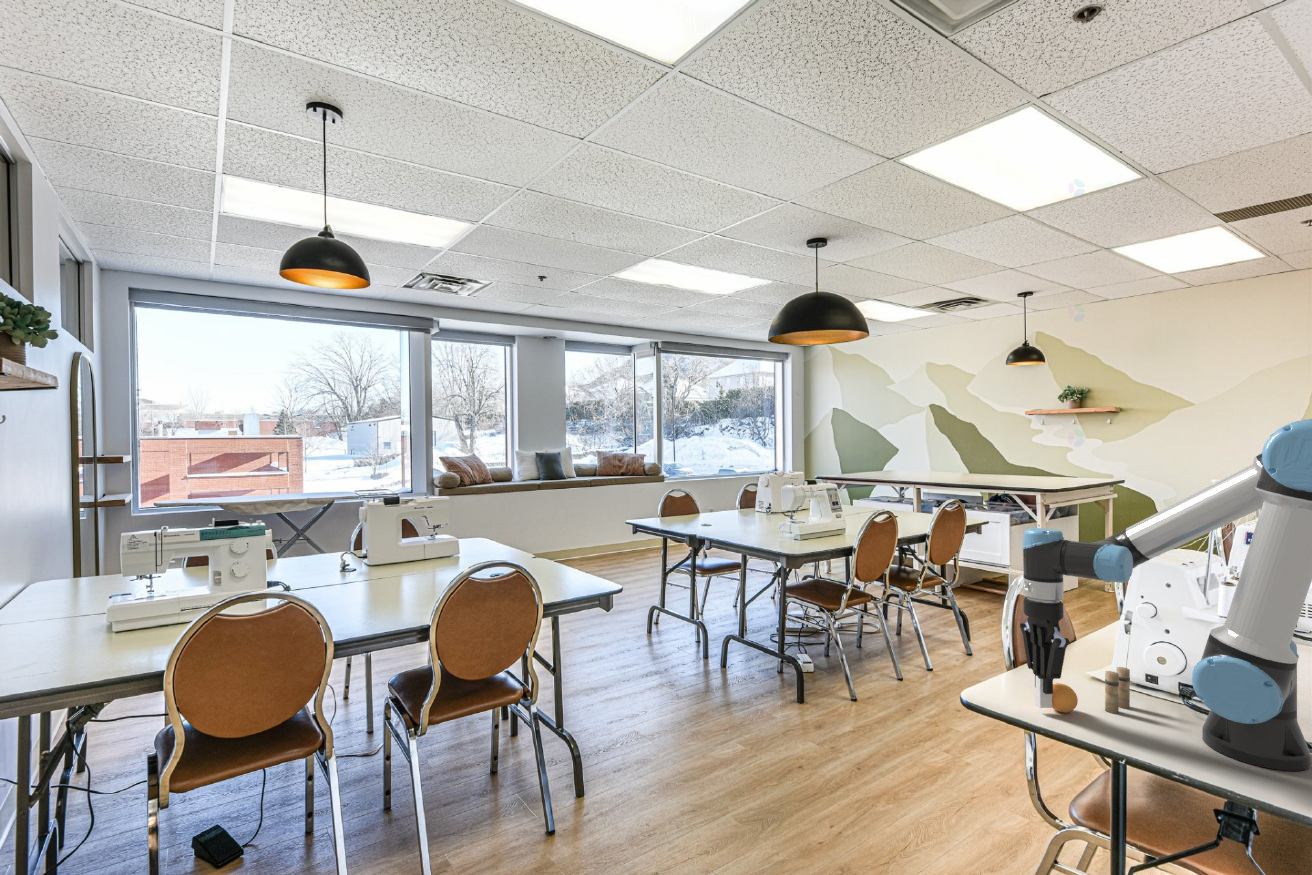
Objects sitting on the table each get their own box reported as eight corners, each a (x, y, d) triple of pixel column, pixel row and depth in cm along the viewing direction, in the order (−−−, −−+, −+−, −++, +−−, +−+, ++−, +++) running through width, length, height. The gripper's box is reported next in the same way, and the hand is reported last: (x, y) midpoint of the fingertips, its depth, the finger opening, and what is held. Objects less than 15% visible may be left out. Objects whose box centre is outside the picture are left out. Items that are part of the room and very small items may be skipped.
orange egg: (1067, 719, 139) (1083, 697, 139) (1067, 716, 134) (1083, 694, 134) (1040, 700, 143) (1055, 679, 143) (1038, 697, 138) (1054, 675, 138)
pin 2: (1130, 706, 141) (1130, 668, 141) (1129, 709, 139) (1129, 671, 140) (1116, 703, 143) (1116, 665, 143) (1115, 706, 141) (1115, 668, 141)
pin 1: (1119, 711, 139) (1119, 672, 139) (1118, 714, 137) (1118, 675, 137) (1105, 707, 140) (1105, 669, 140) (1104, 711, 138) (1104, 673, 139)
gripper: (1008, 592, 144) (1009, 695, 144) (1046, 606, 131) (1047, 719, 131) (1039, 591, 145) (1040, 694, 144) (1081, 606, 132) (1082, 718, 131)
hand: (1043, 706), depth 138 cm, fingers closed
